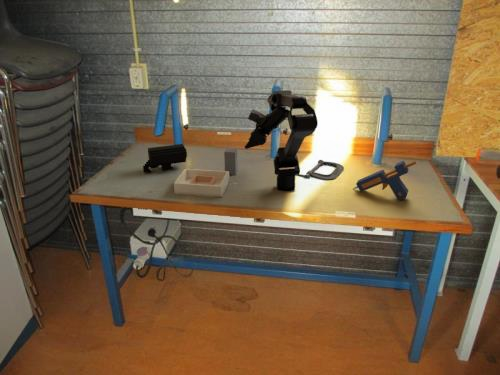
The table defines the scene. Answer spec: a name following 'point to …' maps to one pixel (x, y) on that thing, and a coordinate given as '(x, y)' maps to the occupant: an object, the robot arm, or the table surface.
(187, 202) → the table surface
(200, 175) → the box
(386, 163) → the table surface
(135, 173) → the table surface
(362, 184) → the glue gun
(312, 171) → the c clamp
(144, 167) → the security camera
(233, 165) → the plug
